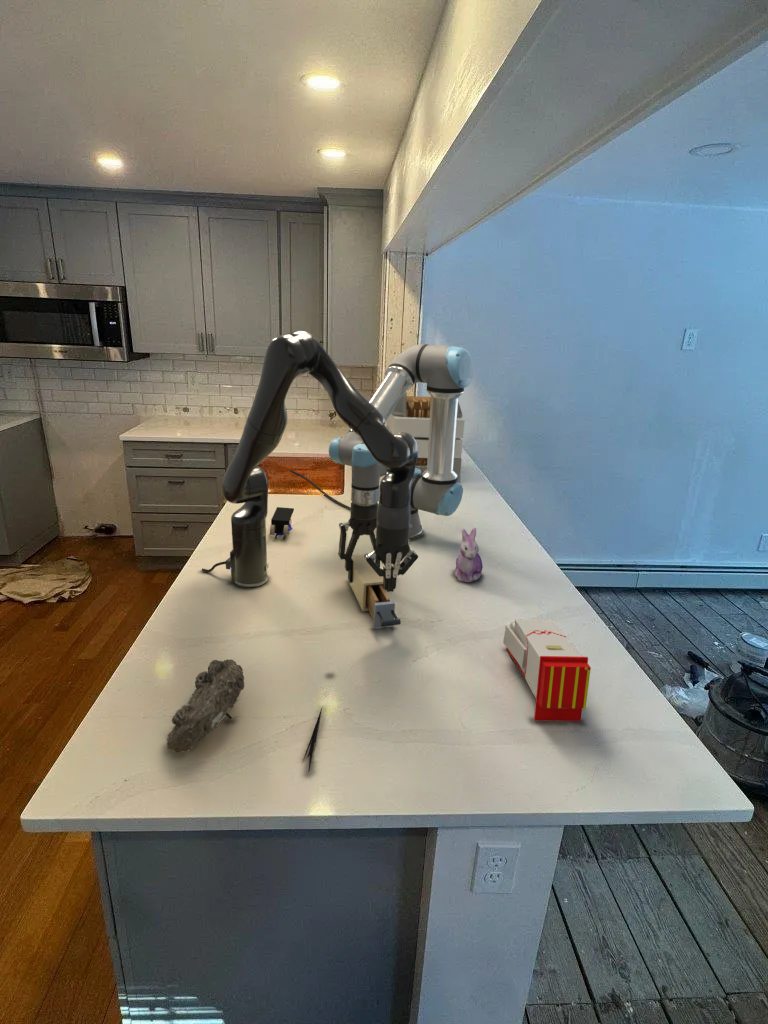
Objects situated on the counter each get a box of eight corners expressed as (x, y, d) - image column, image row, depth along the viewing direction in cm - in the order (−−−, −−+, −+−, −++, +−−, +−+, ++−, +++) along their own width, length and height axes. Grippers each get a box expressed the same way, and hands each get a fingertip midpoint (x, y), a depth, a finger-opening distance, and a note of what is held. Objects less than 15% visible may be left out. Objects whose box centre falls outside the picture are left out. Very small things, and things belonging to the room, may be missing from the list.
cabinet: (385, 609, 150) (386, 581, 147) (362, 611, 148) (363, 583, 145) (369, 579, 165) (370, 553, 162) (348, 580, 164) (349, 554, 161)
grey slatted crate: (382, 463, 289) (386, 382, 275) (445, 464, 293) (451, 384, 279) (390, 482, 257) (394, 392, 243) (460, 483, 261) (468, 394, 247)
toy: (549, 604, 136) (599, 663, 106) (544, 656, 138) (591, 727, 109) (499, 603, 135) (535, 662, 106) (495, 655, 138) (529, 726, 109)
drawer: (400, 638, 135) (401, 615, 133) (380, 641, 134) (381, 617, 132) (376, 594, 155) (377, 573, 153) (359, 596, 154) (360, 574, 151)
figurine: (465, 585, 164) (469, 538, 159) (445, 571, 172) (449, 525, 167) (491, 580, 168) (496, 533, 163) (471, 566, 176) (475, 521, 171)
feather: (331, 679, 122) (336, 673, 122) (307, 777, 96) (313, 769, 95) (324, 675, 122) (329, 669, 121) (298, 772, 95) (304, 764, 95)
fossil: (192, 660, 117) (244, 628, 112) (224, 691, 120) (276, 661, 115) (142, 746, 98) (202, 712, 93) (182, 779, 101) (242, 748, 96)
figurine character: (289, 545, 189) (295, 524, 202) (288, 525, 186) (294, 505, 199) (269, 545, 189) (276, 524, 202) (268, 525, 185) (275, 505, 199)
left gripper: (369, 529, 122) (366, 600, 128) (426, 526, 126) (421, 595, 132) (360, 517, 129) (358, 585, 135) (415, 514, 133) (410, 580, 139)
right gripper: (332, 508, 146) (331, 588, 154) (402, 504, 152) (398, 582, 159) (327, 499, 153) (326, 576, 161) (394, 496, 158) (390, 570, 166)
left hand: (389, 590), depth 134 cm, fingers closed
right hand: (362, 579), depth 160 cm, fingers closed on cabinet, 6 cm apart
